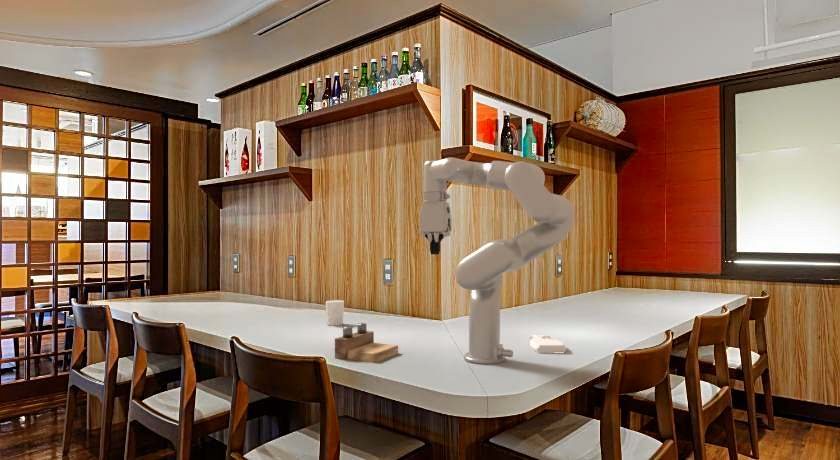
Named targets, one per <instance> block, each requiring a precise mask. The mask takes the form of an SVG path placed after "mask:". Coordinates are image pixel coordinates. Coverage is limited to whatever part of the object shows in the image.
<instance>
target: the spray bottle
mask: <svg viewBox="0 0 840 460" xmlns="http://www.w3.org/2000/svg"><path fill="white" fill-rule="evenodd" d="M529 340H530V342H529V345H530V347H531V349H532V350H533V351H534V352H535V351H536V353H537V352H539V353H538V354H555V353H554V352H565V353H566V351H567V347H566V346H565V344H564V343H563V342H562V341H561V340H558V339H552V338H551V335H543V334H540V335H539V334H535V335H534V334H532V335H529Z"/></svg>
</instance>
